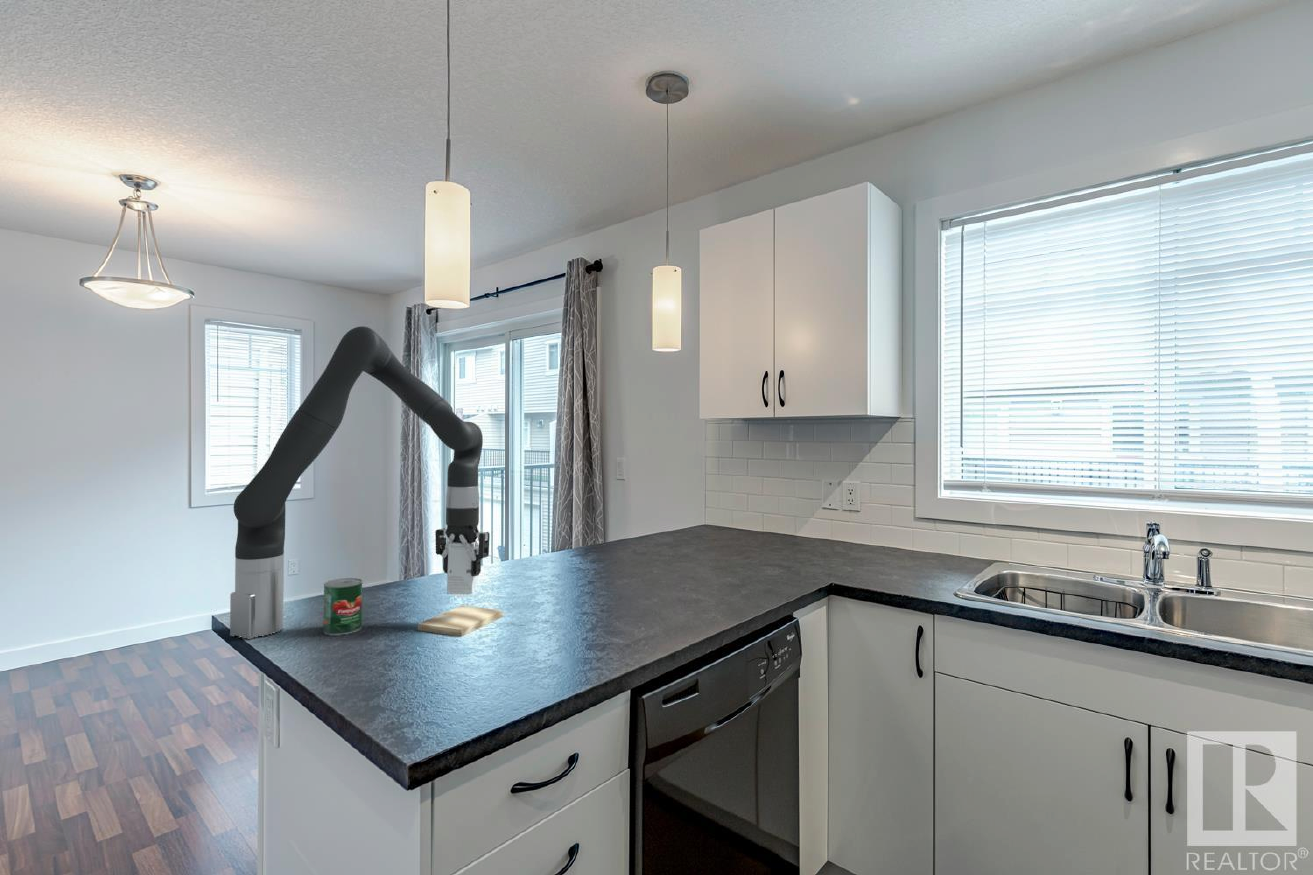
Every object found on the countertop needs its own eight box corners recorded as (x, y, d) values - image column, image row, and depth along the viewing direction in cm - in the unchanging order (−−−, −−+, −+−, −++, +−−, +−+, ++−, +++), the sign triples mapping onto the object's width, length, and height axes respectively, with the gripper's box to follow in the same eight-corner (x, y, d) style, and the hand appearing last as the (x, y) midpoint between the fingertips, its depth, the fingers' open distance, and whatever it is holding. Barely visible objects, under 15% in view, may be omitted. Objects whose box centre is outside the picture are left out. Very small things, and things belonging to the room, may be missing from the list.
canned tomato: (345, 636, 136) (346, 587, 136) (315, 634, 137) (315, 585, 137) (369, 625, 144) (369, 578, 143) (340, 623, 145) (340, 577, 145)
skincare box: (446, 595, 143) (446, 543, 143) (450, 590, 148) (450, 540, 148) (473, 594, 144) (474, 543, 144) (476, 589, 149) (476, 539, 149)
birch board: (461, 636, 137) (461, 629, 137) (417, 630, 141) (417, 623, 141) (502, 616, 152) (502, 610, 152) (462, 611, 156) (462, 605, 156)
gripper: (427, 505, 145) (426, 574, 145) (478, 508, 140) (477, 580, 140) (448, 502, 152) (447, 568, 152) (497, 505, 147) (496, 573, 147)
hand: (461, 574), depth 146 cm, fingers closed on skincare box, 7 cm apart
